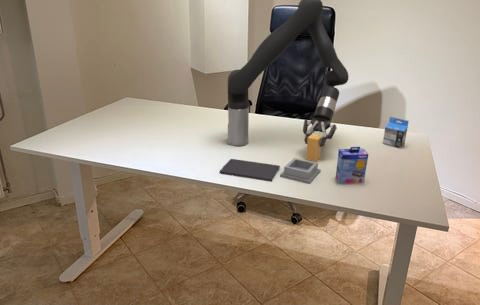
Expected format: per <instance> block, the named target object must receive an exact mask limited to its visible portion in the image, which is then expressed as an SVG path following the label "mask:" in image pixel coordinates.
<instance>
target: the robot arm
mask: <svg viewBox="0 0 480 305" xmlns="http://www.w3.org/2000/svg"><path fill="white" fill-rule="evenodd" d="M323 8H324V6H323V1H322V0H300V1H299V3H298V6H297V9H296V10H295V11H294V13H293V14H292V15H291V16H290V17H289V18H288V19H287V20H286V21H285V22H284V23H282V24H280V25H279V26H278V27H277V28H276V29H274V30H273V31H272V32H271V33H270V34H269V35H267V36H266V38H264V40H263V41H262V42H261V43H260V44H259V46H257V48H256V50H255V51H254V52H253V54H252V56H251V58H250V59H249V60H248V61H247V62H246V63H245V65H243V66H242V67H241V68H240V69H235V70H233V71H231V72H230V73H229V74H228V77H227V107H228V109H227V112H228V113H227V116H228V117H227V121H228V122H227V144H228V145H231V146H234V147H243V146H246V145H248V144H249V121H250V120H249V116H250V112H249V111H250V110H249V109H250V107H249V105H250V102H249V89H250V87H251V86H252V85H253V83H254V82H255V81H256V80H257V79H258V77H259V76H260V75H261V74H262V73H263V72H264V71H265V70H266V69H268V68H269V66H271V65H272V64H273V63H274V62H275V61H276V60H277V59H278V58H279V57H280V56H281V55H282V54H283V53H284V52H285V51H286V50H287V49H288V48H289V47H290V45H291V44H292V43H293V42H294V41H295V40H296V39H297V37H298V36H299V35H300V34H301V33H302V32H303V31H305V29H307V30H308V32H309V34H310V35H311V38H312V39H311V40H312V41H313V44H314V48H315V49H316V51H317V55H318V57H319V60H320V63H321V65H322V67H324V68H329V69H331V70H329V71H326V73H325V75H324V76H323V84H322V86H323V87H322V93H321V96H320V98H319V101H318V103H317V105H316V108H315V111H314V114H313V117H312V119H311V120H308V119H304V122H303V127H302V132H303V134H304V135H305V137H304V139H303V140H304V144H305V145H307V140H308V137H309V136H310V135H311V134H312V135H313V134H314V133H315V132H319V133H322V139H321V142H320V147H321V148H323V147H325V144H326V141H327V140H331V139H333V137H334V134H335V132H336V131H337V129H338V128H337V125H336V124H332V120H333V117H334V113H335V111H336V107H337V102H338V99H339V98H340V90H339V89H338V88H337V87H338V86H343V85H346V84H347V82H348V81H349V72H348V70H347V69H346V66H345V65H344V64H343V62H342V61H341V60H340V59H339V57H338V54H337V52H336V49H335V47H334V44H333V43H332V40H331V38H330V37H329V35H328V33H327V31H326V29H325V27H324V24H323V21H322V17H321V15H322V13H323V10H324V9H323ZM310 125H311V126H310ZM308 128H309V129H308ZM328 129H330V130H329V132H328V133H327V130H328Z"/></svg>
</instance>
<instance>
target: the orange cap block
mask: <svg viewBox="0 0 480 305" xmlns="http://www.w3.org/2000/svg"><path fill="white" fill-rule="evenodd" d="M322 137H323V135H316V134H313V133H312V134H311V135H310V136H309V137H308V140H307V144H306V154H305V160H307V161H311V162H316V163H318V161H320V159H321V149H322V147H320V142H321V139H322Z"/></svg>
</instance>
